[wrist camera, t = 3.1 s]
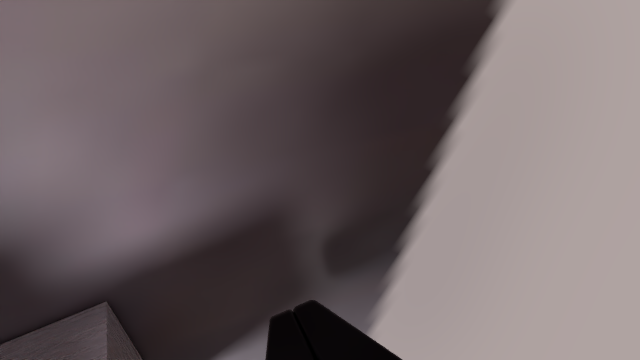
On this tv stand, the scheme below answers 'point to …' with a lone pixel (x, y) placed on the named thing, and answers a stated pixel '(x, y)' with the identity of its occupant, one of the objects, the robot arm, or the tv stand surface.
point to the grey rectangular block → (75, 339)
